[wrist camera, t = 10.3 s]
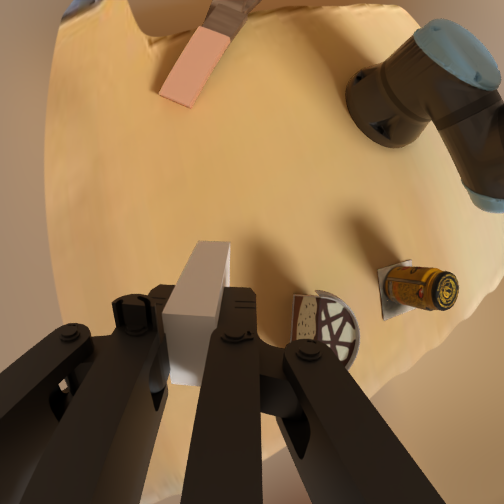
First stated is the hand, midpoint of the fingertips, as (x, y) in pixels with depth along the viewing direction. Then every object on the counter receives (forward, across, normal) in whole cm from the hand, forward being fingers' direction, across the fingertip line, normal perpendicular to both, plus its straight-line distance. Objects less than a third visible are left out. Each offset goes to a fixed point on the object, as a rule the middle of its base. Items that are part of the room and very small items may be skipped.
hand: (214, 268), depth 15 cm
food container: (+24, +11, -19) cm, 32 cm away
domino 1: (+31, -10, +12) cm, 34 cm away
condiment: (+28, +26, -15) cm, 41 cm away
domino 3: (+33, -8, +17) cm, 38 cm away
